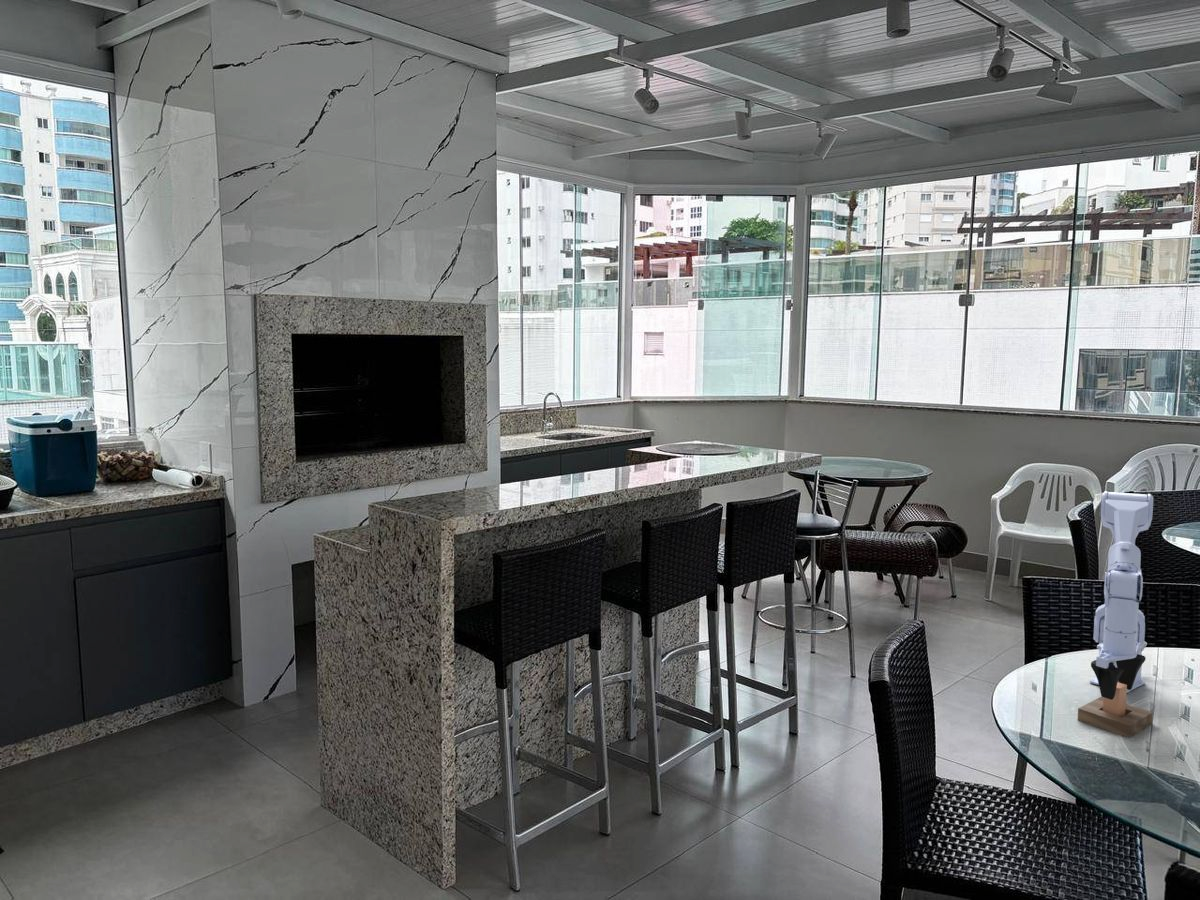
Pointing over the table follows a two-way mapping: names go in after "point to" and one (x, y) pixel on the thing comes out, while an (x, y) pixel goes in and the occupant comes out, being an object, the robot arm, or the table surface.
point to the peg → (1116, 701)
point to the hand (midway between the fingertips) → (1116, 692)
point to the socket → (1115, 718)
